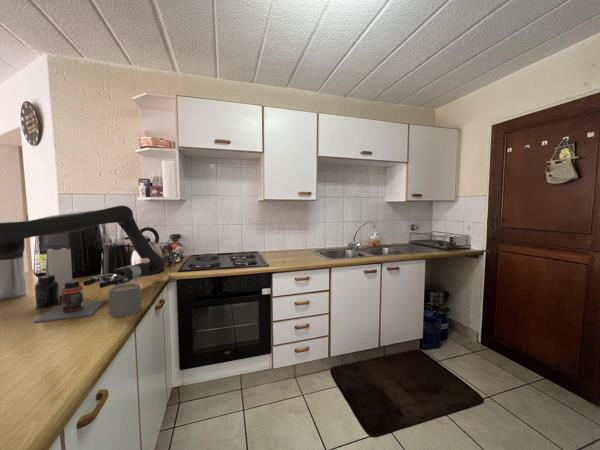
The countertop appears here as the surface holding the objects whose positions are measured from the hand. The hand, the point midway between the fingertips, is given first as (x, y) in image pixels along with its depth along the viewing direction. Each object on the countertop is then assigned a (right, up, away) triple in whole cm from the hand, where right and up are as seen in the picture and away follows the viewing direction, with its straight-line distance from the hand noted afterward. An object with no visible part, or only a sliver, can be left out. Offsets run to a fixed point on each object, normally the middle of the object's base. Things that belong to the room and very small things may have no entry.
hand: (92, 284), depth 102 cm
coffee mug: (+17, -9, -4) cm, 20 cm away
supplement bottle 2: (-2, -8, -6) cm, 11 cm away
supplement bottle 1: (-17, -8, -1) cm, 19 cm away
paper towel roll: (-23, -7, +10) cm, 26 cm away
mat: (-2, -9, -7) cm, 11 cm away
